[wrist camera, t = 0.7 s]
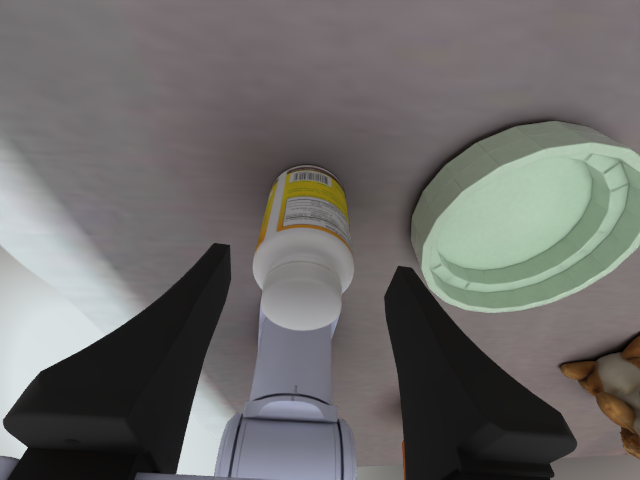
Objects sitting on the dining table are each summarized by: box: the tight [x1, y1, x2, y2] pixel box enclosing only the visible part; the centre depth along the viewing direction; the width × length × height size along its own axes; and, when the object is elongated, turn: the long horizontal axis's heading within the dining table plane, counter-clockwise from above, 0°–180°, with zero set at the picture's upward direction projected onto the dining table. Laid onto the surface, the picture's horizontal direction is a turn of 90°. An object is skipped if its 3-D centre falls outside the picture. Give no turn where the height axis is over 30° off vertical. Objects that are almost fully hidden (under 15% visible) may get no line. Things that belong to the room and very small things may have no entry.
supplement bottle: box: [253, 165, 354, 331], centre depth 19 cm, size 6×6×10 cm
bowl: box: [411, 121, 640, 313], centre depth 22 cm, size 14×14×4 cm
